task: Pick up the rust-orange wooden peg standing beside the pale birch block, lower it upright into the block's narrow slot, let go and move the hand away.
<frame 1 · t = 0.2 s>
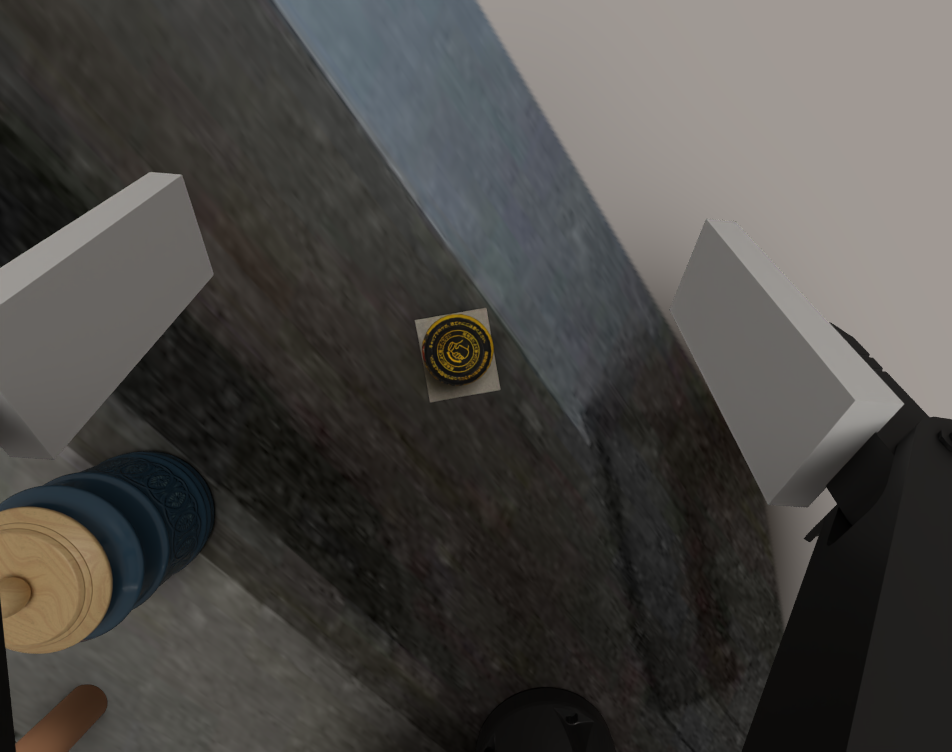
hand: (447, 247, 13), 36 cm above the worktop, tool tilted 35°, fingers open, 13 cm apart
peg: (88, 702, 51), on the worktop
canister: (155, 508, 50), on the worktop
condiment: (458, 355, 49), on the worktop
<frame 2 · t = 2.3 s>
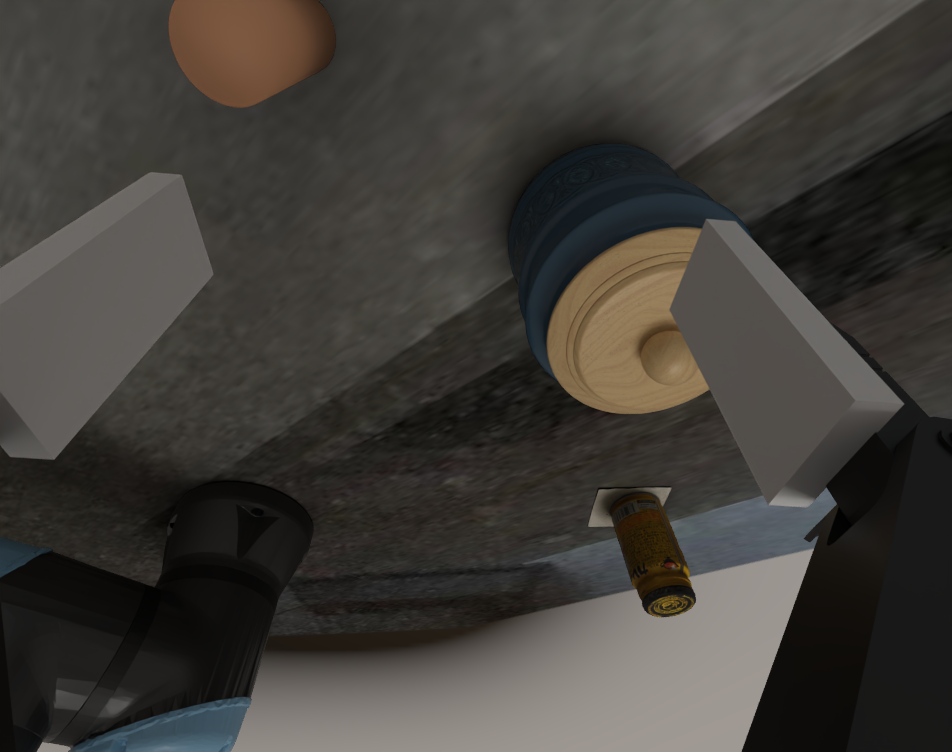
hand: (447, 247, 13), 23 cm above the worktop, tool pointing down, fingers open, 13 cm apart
peg: (300, 33, 28), on the worktop
canister: (591, 231, 36), on the worktop
condiment: (627, 504, 57), on the worktop
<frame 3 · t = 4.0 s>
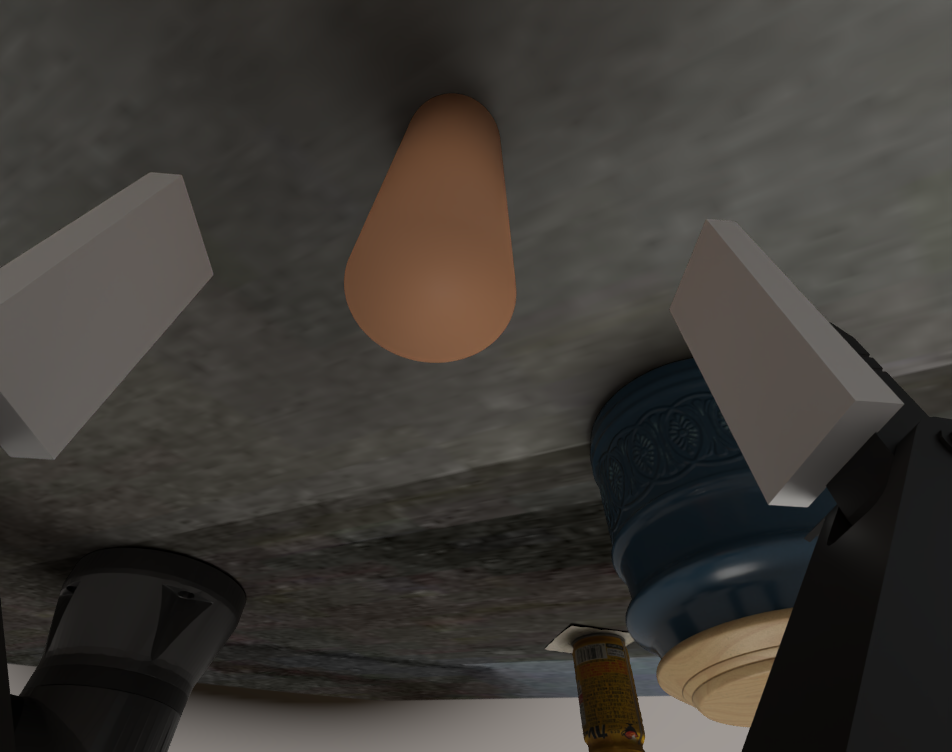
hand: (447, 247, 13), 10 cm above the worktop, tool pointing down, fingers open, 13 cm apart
peg: (453, 147, 20), on the worktop
canister: (685, 425, 32), on the worktop
condiment: (591, 638, 55), on the worktop
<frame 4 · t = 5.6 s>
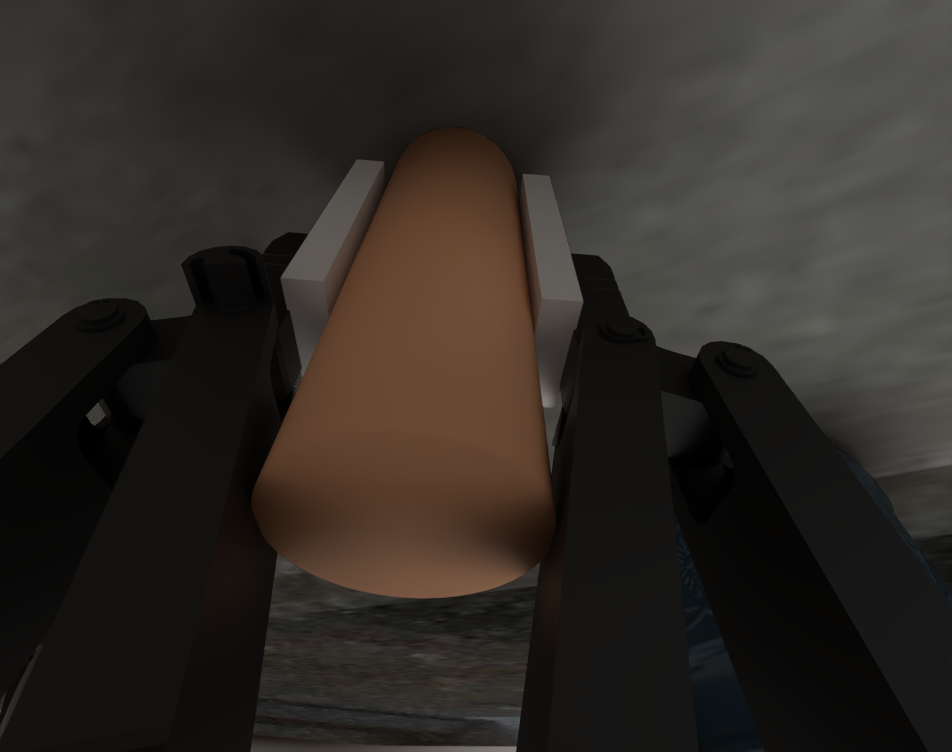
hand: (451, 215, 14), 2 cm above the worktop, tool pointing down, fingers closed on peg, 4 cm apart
peg: (454, 194, 15), on the worktop, touching gripper
canister: (728, 503, 27), on the worktop
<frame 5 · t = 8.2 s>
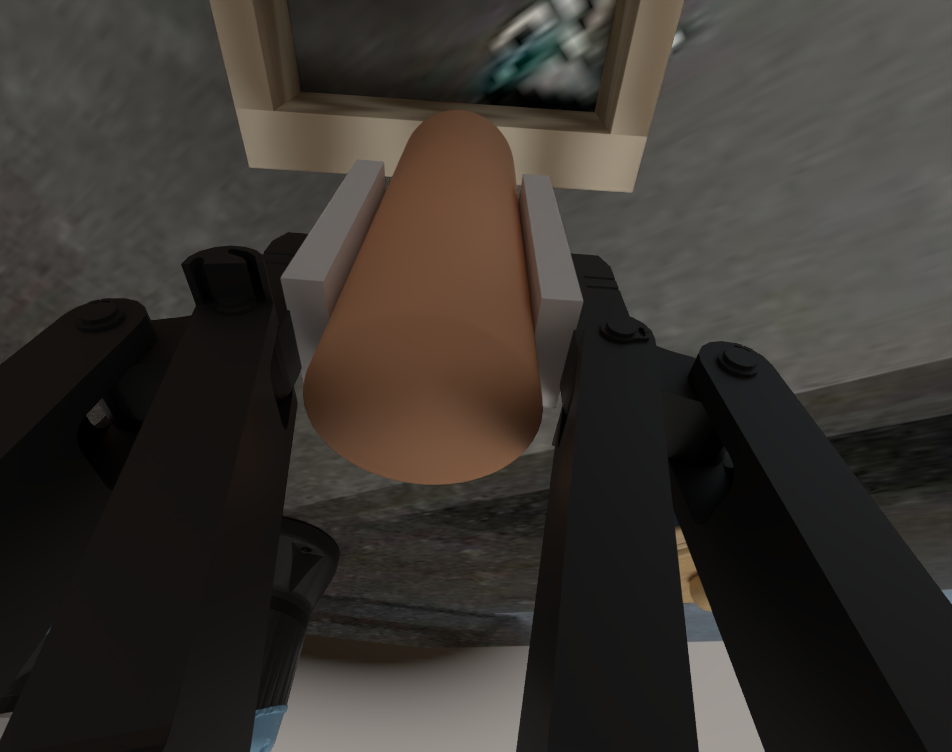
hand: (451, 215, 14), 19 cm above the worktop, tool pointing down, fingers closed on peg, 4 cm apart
peg: (458, 172, 17), point 16 cm above the worktop, touching gripper
canister: (650, 428, 48), on the worktop
socket block: (450, 42, 27), on the worktop
when the fingers open (4 cm above the worktop, at t = 11.0 s): peg stays where it is, on the worktop.
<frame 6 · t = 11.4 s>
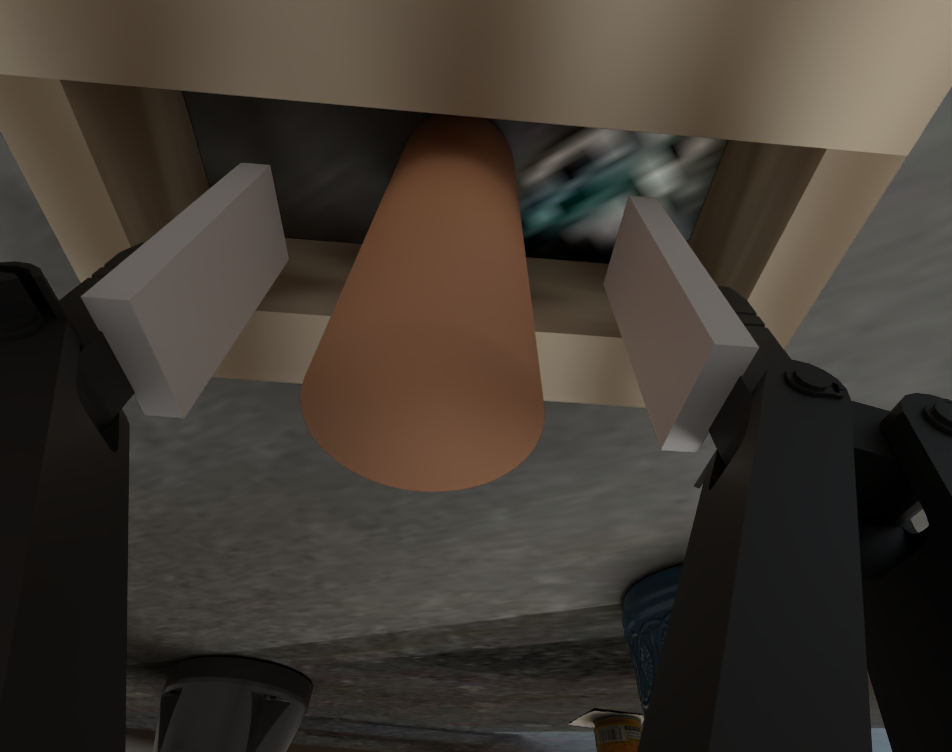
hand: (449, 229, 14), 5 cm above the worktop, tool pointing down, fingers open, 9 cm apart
peg: (457, 173, 17), on the worktop
canister: (700, 593, 38), on the worktop
socket block: (457, 173, 17), on the worktop
condiment: (610, 717, 61), on the worktop
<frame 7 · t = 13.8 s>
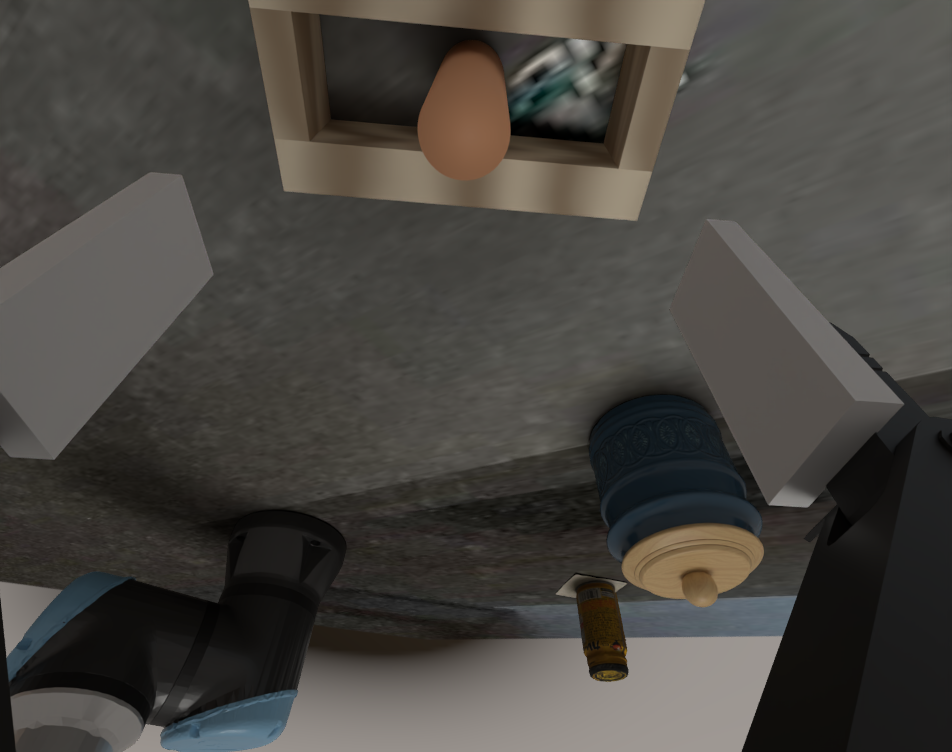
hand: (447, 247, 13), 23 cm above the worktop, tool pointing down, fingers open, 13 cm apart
peg: (471, 78, 30), on the worktop
canister: (648, 434, 51), on the worktop
socket block: (471, 78, 30), on the worktop
condiment: (590, 586, 74), on the worktop
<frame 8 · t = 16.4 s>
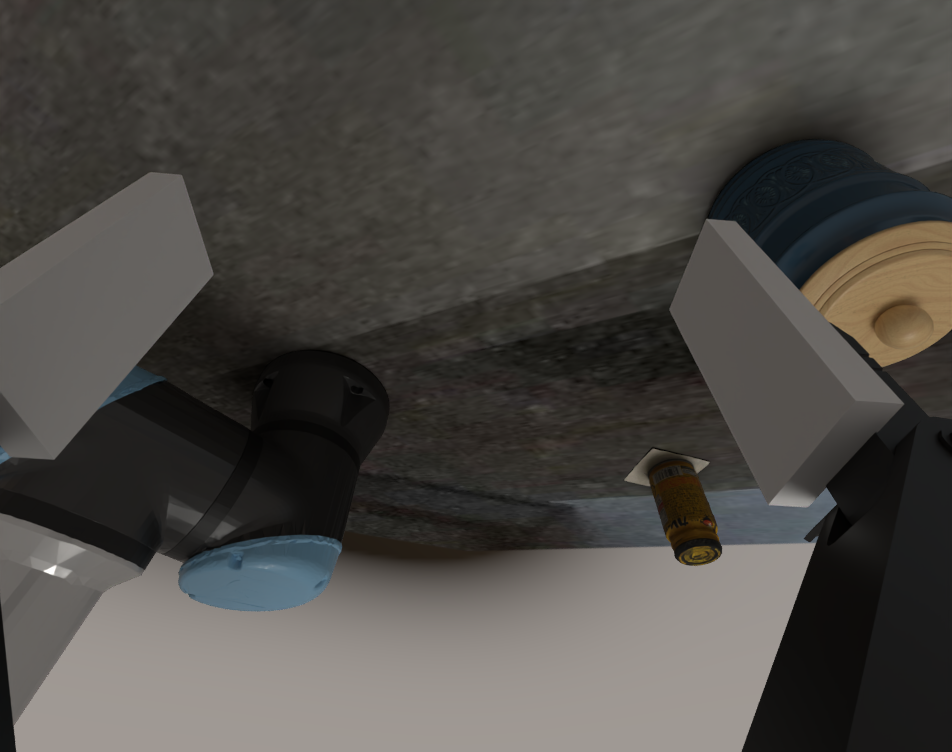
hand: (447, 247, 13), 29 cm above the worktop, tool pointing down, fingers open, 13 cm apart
canister: (778, 215, 41), on the worktop
condiment: (665, 468, 64), on the worktop
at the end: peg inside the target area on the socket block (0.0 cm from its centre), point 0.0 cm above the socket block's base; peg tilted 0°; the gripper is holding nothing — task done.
